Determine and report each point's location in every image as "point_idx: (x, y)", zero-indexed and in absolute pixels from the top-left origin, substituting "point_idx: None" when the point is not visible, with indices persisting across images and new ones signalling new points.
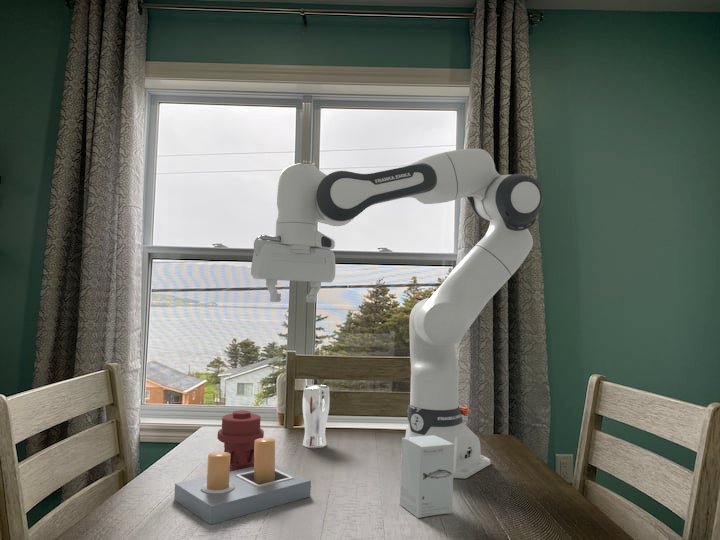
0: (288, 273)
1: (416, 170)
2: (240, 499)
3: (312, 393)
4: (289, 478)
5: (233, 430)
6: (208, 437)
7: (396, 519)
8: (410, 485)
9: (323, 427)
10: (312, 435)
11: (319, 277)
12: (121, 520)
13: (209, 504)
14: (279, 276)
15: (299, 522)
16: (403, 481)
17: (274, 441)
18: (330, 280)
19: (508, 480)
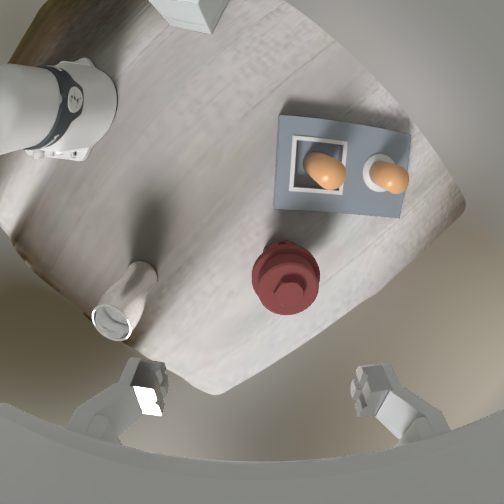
0: (384, 485)
1: None
2: (380, 128)
3: (128, 310)
4: (300, 136)
5: (312, 268)
6: (238, 369)
7: (248, 12)
8: (218, 3)
9: (127, 275)
10: (146, 276)
11: (72, 453)
12: (441, 201)
13: (409, 139)
14: (440, 447)
15: (337, 72)
16: (211, 17)
17: (323, 160)
18: (6, 410)
19: (60, 37)
